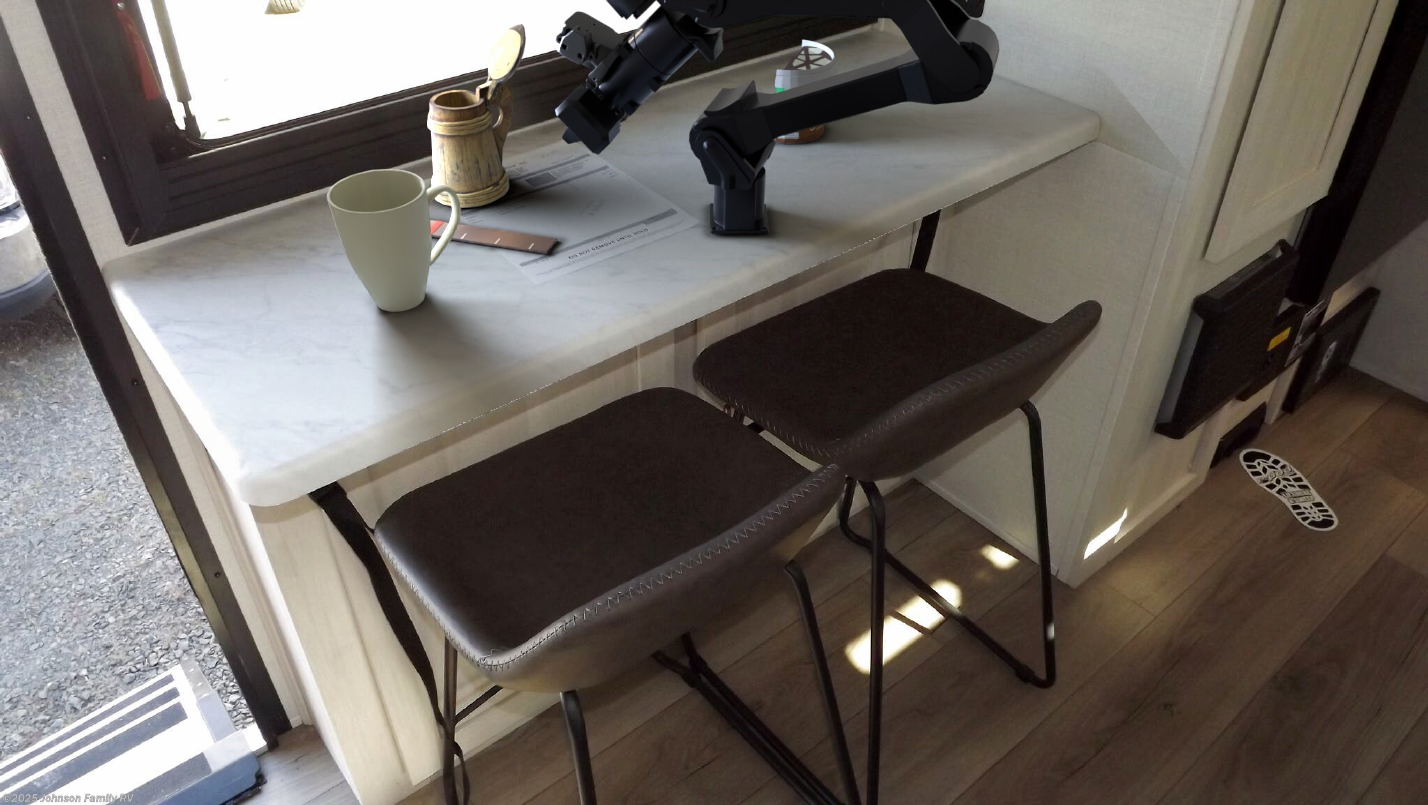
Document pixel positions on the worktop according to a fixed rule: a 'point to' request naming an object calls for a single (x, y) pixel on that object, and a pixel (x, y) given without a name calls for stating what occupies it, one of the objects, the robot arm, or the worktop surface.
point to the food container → (806, 81)
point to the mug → (390, 232)
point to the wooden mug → (476, 129)
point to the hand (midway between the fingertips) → (565, 139)
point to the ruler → (495, 237)
